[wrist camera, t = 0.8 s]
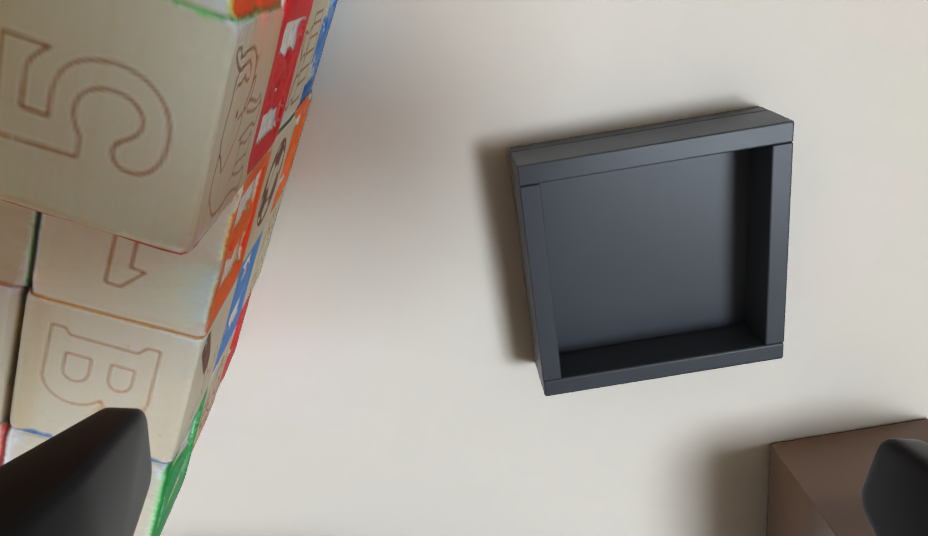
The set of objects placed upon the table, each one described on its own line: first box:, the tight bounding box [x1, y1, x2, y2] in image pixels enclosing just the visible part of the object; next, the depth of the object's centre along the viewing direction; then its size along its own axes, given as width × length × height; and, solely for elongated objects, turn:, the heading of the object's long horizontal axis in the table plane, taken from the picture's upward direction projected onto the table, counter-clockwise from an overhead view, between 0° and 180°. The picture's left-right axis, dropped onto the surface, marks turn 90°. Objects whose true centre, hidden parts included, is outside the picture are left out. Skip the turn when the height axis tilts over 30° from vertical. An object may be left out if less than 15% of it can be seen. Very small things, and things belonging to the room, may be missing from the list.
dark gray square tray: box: [508, 107, 794, 396], centre depth 22 cm, size 8×8×2 cm
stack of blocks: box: [0, 0, 337, 536], centre depth 13 cm, size 21×6×12 cm, turn 159°
